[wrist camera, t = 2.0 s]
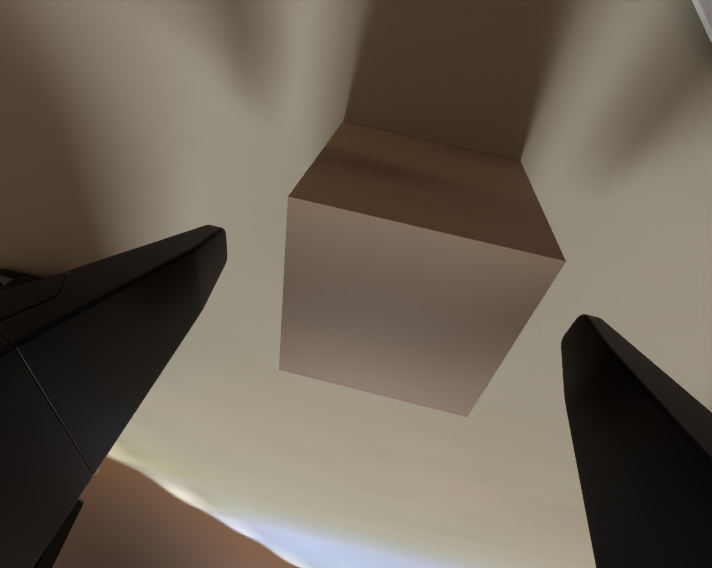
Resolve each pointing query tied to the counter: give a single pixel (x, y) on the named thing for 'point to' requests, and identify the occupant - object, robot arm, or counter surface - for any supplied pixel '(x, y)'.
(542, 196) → the counter surface
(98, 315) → the robot arm
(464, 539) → the counter surface
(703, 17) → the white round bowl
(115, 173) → the counter surface
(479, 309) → the walnut block
